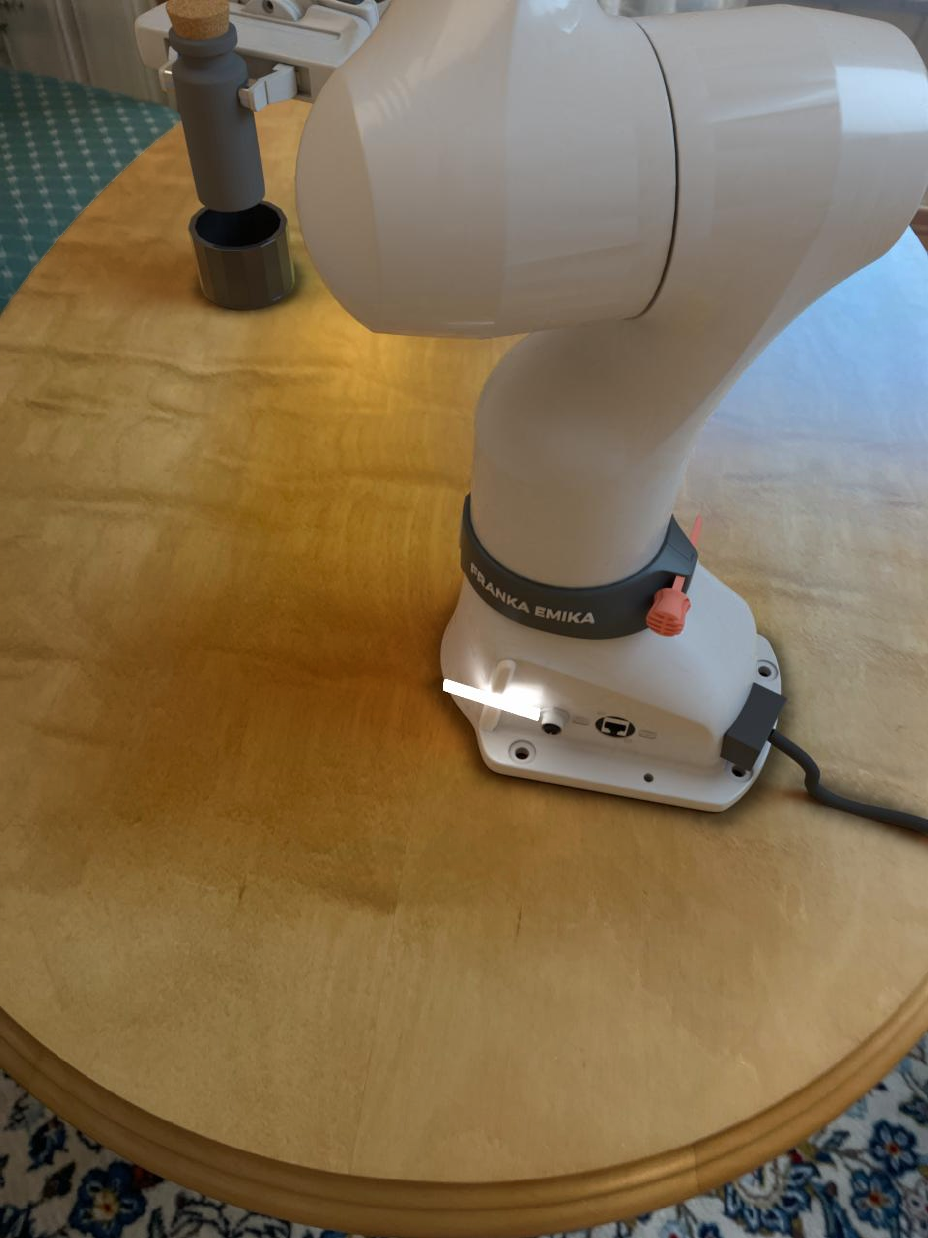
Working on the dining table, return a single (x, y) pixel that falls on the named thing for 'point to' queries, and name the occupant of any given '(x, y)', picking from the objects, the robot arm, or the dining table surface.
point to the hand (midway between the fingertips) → (207, 91)
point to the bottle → (214, 106)
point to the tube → (243, 255)
